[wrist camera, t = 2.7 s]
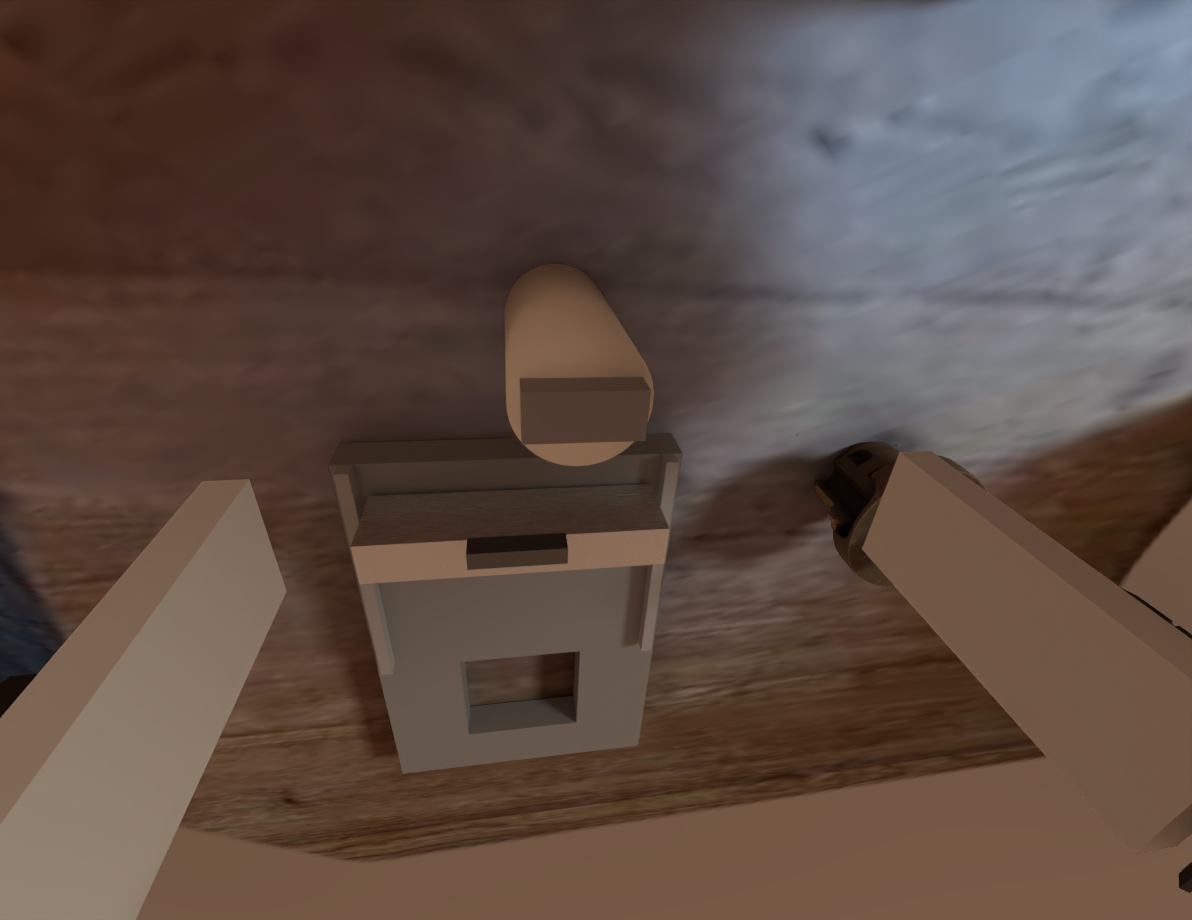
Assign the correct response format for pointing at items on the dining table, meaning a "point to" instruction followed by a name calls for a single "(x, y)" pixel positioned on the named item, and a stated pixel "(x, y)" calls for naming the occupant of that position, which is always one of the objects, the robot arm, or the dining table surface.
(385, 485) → the housing plate
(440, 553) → the lock bar
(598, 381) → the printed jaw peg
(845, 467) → the industrial component
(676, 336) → the dining table surface
